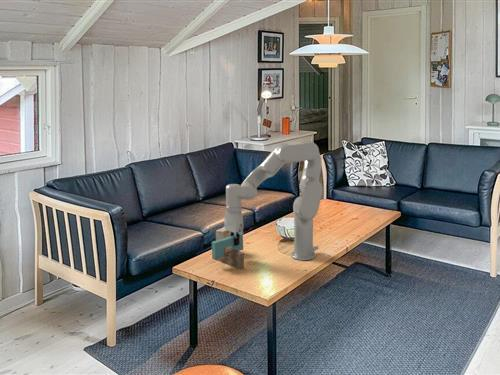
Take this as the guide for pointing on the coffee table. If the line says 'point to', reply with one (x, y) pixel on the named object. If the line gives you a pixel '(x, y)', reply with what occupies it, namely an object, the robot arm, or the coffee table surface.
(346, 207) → the coffee table surface
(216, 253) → the teal plate
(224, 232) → the supplement box
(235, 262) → the brown flat notched block
